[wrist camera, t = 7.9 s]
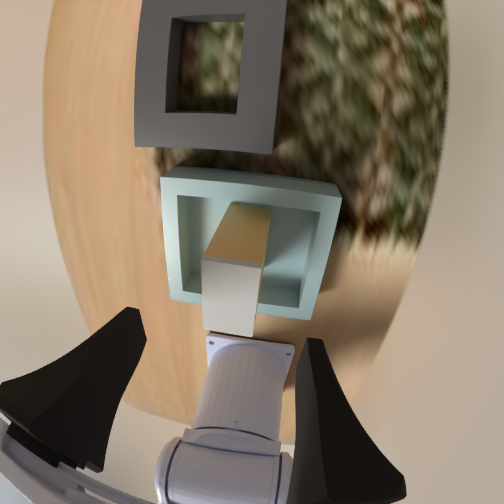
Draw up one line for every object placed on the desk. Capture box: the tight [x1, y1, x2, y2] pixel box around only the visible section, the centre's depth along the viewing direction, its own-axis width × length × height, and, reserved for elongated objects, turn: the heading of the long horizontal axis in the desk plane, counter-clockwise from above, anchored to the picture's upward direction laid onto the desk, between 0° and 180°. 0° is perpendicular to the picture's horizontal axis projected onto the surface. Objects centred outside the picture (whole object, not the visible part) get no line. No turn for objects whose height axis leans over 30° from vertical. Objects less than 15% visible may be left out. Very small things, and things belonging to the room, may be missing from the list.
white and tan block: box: [201, 204, 272, 337], centre depth 16 cm, size 4×3×6 cm, turn 175°
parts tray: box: [160, 166, 342, 320], centre depth 18 cm, size 9×10×2 cm
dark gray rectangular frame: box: [134, 0, 288, 155], centre depth 13 cm, size 10×8×2 cm
